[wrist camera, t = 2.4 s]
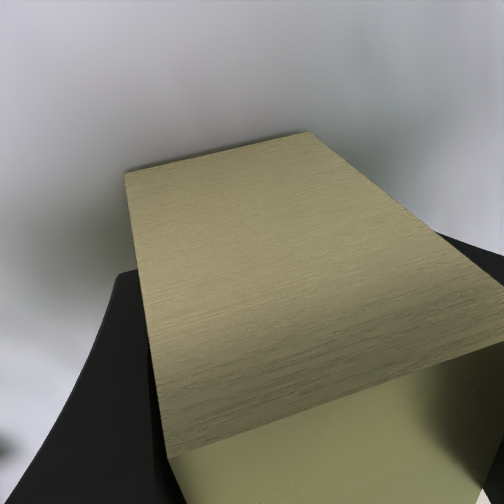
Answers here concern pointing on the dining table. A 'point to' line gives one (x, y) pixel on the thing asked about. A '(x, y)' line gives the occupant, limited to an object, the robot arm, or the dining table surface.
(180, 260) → the square peg
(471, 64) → the dining table surface
